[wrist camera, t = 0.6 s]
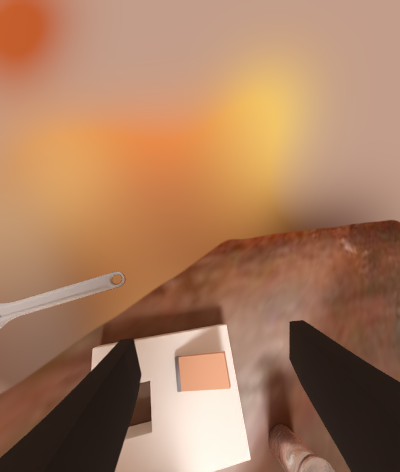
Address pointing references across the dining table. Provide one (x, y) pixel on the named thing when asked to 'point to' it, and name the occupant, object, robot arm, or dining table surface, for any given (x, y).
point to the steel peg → (295, 452)
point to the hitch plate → (183, 409)
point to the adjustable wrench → (58, 296)
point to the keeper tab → (202, 372)
